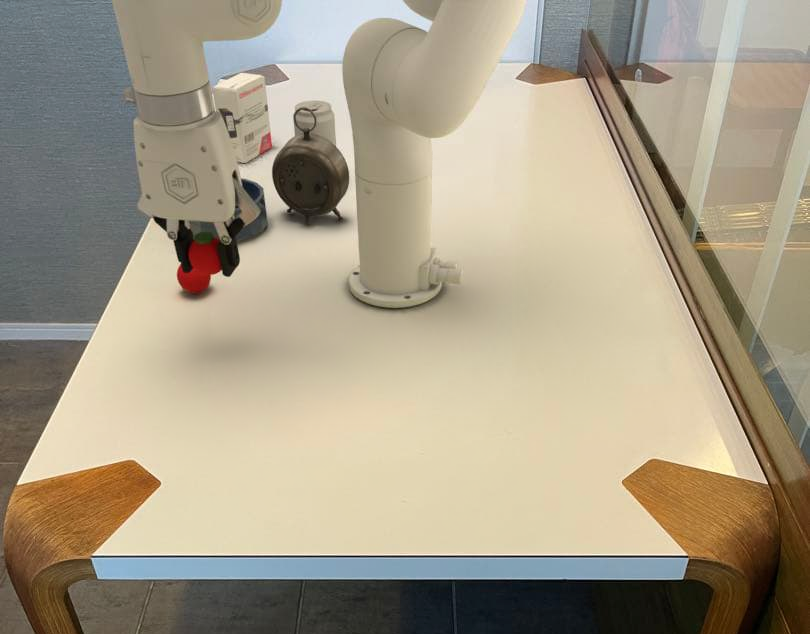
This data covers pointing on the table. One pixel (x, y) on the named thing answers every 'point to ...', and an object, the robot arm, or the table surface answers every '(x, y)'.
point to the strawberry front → (205, 253)
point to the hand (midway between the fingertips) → (210, 267)
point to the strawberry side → (193, 280)
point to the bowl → (249, 230)
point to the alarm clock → (310, 174)
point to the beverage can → (323, 116)
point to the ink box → (245, 114)
